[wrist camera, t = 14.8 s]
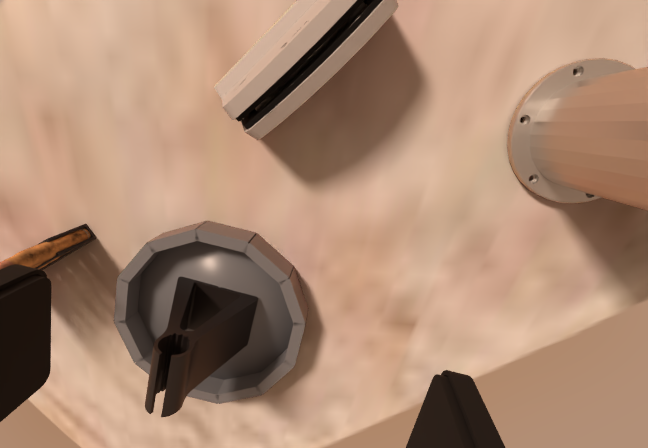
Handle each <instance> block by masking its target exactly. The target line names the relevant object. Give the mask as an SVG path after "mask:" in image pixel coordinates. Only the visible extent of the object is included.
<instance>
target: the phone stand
mask: <svg viewBox="0 0 648 448" xmlns="http://www.w3.org/2000/svg"><path fill="white" fill-rule="evenodd" d="M257 303H258V297H256V296H252V295H248V294H245V293H241V292H237V291H234V290H230V289H226V288H223V287H221V288H219V287H218V286H215V285H212V284H208V283H204V282H201V281H197V280H193V279H190V278H186V277H178V280H177V285H176V290H175V294H174V299H173V303H172V308H171V313H170V317H169V322H168V326H167V329H166V331H165V332H164V333H163V334H162V335H161V336H160V337H159V338H158V339H156V341H155V342H154V347H153V354H152V360H151V367H150V374H149V381H148V387H147V394H146V401H145V408H146V410H147V412H148V413H149V414H151V413H152V412H153V409H154V403H155V396H156V394H157V393H159V392H160V391H164V390H165V389H166V391H165V397H164V403H163V409H162V415H161V417H167V416H170V415H173V414H174V413H176V412H177V411H178V410H179V409H180V408H181V407H182V405H183V402H184V400H185V398H186V396H187V395H188V394H189V392H190V391H192V390H193V389H194V388H195V387H196V386H198V385H199V384H200V383H201V382H203V381H204V380H205V379H206V378H207V377H209V376H210V375H211V374H212V373H214V372H215V371H216V370H217V369H218V368H220V367H221V366H222V365H223V364H225V363H226V362H227V361H228V360H229V359H231V358H232V357H233V356H234V355H236V354H237V353H238V352H239V351H241V350H242V349H243V348H244V347H245V346H247V345H248V341H249V336H250V332H251V328H252V324H253V320H254V315H255V311H256V307H257ZM186 329H192V330H193V331H185V330H186Z"/></svg>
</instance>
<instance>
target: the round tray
mask: <svg viewBox="0 0 648 448" xmlns="http://www.w3.org/2000/svg"><path fill="white" fill-rule="evenodd" d="M178 277H186V278H190V279H193V280H197V281H201V282H204V283H208V284H212V285H215V286H218V287H219V288H221V287H223V288H226V289H230V290H234V291H237V292H241V293H245V294H248V295H252V296H256V297H258V303H257V307H256V311H255V315H254V320H253V324H252V328H251V332H250V336H249V341H248V345H247V346H245V347H244V348H243V349H242V350H241V351H239V352H238V353H237V354H236V355H234V356H233V357H232V358H231V359H229V360H228V361H227V362H226V363H225V364H223V365H222V366H221V367H220V368H218V369H217V370H216V371H215V372H214V373H212V374H211V375H210V376H209V377H207V378H206V379H205V380H204V381H203V382H201V383H200V384H199V385H198V386H196V387H195V388H194V389H193V390H192V391H190V392H189V394H188V395H187V396H188V397H192V398H196V399H200V400H204V401H208V402H212V403H216V404H218V403H219V404H221V403H225V402H230V401H235V400H240V399H245V398H250V397H255V396H260V395H262V394H264V393H265V392H266V391H268V390H269V389H270V388H271V387H272V386H273V385H274V384H275V383H277V382H278V381H279V380H280V379H281V378H282V377H283V376H285V375H286V374H287V373H288V372H289V371H290V370H291V369H292V368H294V366H295V363H296V359H297V355H298V351H299V348H300V344H301V340H302V336H303V332H304V328H305V324H306V319H307V315H308V306H307V303H306V300H305V297H304V294H303V291H302V289H301V286H300V283H299V280H298V277H297V274H296V271H295V268H294V267H293V265H292V264H291V263H290V262H289V261H287V260H286V259H285V258H284V257H283V256H282V255H281V254H280V253H279V252H277V251H276V250H275V249H274V248H273V247H272V246H271V245H270V244H268V243H267V242H266V241H265V240H264V239H263V238H262V237H261V236H260V235H258V234H256V233H255V232H251V231H247V230H243V229H239V228H235V227H231V226H227V225H223V224H219V223H215V222H211V221H204V222H201V223H197V224H194V225H190V226H187V227H183V228H180V229H176V230H172V231H169V232H165V233H162V234H161V235H159V236H157V237H155V238H154V239H152V240H150V241H149V242H147V243H146V244H145V245H144V246H143V247H142V249H141V250H140V251H139V252H138V253H137V255H136V256H135V257H134V258H133V259H132V261H131V262H130V263H129V264H128V265H127V266H126V268H125V269H124V270H123V271H122V272H121V274H120V275H119V276H118V278H117V287H116V300H115V313H114V321H115V322H114V323H115V325H116V327H117V329H118V331H119V333H120V335H121V337H122V339H123V341H124V343H125V345H126V347H127V349H128V351H129V353H130V355H131V357H132V359H133V361H134V363H135V362H136V363H135V364H136V365H137V366H139V367H140V368H141V369H142V370H144V371H145V372H146V373H148V374H150V367H151V360H152V354H153V347H154V342H155V341H156V339H158V338H159V337H160V336H161V335H162V334H163V333H164V332H165V331H166V329H167V326H168V322H169V317H170V313H171V308H172V303H173V299H174V294H175V290H176V285H177V280H178ZM185 331H193V330H192V329H186V330H185Z"/></svg>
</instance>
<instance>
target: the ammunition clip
mask: <svg viewBox="0 0 648 448" xmlns="http://www.w3.org/2000/svg"><path fill="white" fill-rule="evenodd" d="M94 239H96V237H95V235H94V234H93V233H92V231H91V230H90V229H89V227H88V226H87V225H86V224H84V225H81V226H79V227H76V228H74V229H71V230H69V231H66V232H64V233H61V234H58V235H56V236H53V237H51V238H48V239H46V240H44V241H43V242H41V243H39V244H38V245H36V246H33V247H31V248H28V249H26V250H23V251H21V252H19V253H17V254H15V255H14V256H12V257H10V258H8V259H6V260H4V261H2V262H0V269H3V268H5V267H7V266H10V265H14V264H19V265H23V266H27V267H31V268H36V269H40V270H43V269H45V268H46V267H48V266H50V265H51V264H53V263H55V262H57V261H58V260H60V259H62V258H63V257H65V256H67V255H68V254H70V253H72V252H74V251H75V250H77V249H79V248H80V247H82V246H84V245H86V244H87V243H89V242H91V241H92V240H94Z"/></svg>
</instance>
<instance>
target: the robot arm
mask: <svg viewBox="0 0 648 448" xmlns="http://www.w3.org/2000/svg"><path fill="white" fill-rule="evenodd" d="M573 70H574V75H573ZM521 117H522V118H523V121H522V122H520V119H521ZM507 149H508V155H509V161H510V163H511V166H512V169H513V171H514V173H515V174H516V176H517V177H518V179H519V180H520V182H521V183H522V184H523V185H524V186H525V187H527V188H528V189H529V190H530V191H532V192H533V193H535V194H537V195H538V196H541V197H543V198H546V199H548V200H552V201H556V202H560V203H572V204H576V203H584V202H590V201H593V200H596V199H600V198H606V199H609V200H612V201H616V202H619V203H623V204H626V205H630V206H633V207H637V208H640V209H644V210H647V211H648V67H645V68H640V69H635V68H634V67H632V66H631V65H628V64H626V63H623V62H620V61H618V60H612V59H605V58H598V59H586V60H582V61H578V62H574V63H571V64H568V65H565V66H562V67H560V68H558V69H556V70H554V71H553V72H551V73H549V74H547V75H546V76H545V77H543V78H542V79H541V80H540V81H538V82H537V83H536V84H535V85H534V86H533V87H532V88H531V89H530V90H529V91H528V92H527V93H526V95H525V96H524V97H523V99H522V100H521V102H520V103H519V105H518V107H517V108H516V110H515V113H514V115H513V117H512V120H511V123H510V127H509V132H508V142H507ZM530 176H531V179H530V180H529V177H530ZM50 358H51V281H50V280H49V279H48V278H47V275H46V273H45V272H44V271H42V270H40V269H36V268H31V267H27V266H23V265H19V264H14V265H10V266H7V267H5V268H3V269H0V422H1V421H2V420H3V419H4V418H6V417H7V416H8V415H9V414H10V413H11V412H12V411H14V410H15V409H16V408H17V407H18V406H20V405H21V404H22V403H23V402H24V401H25V400H26V399H28V398H29V397H30V396H31V395H33V394H34V393H35V392H36V391H37V390H38V389H40V388H41V387H42V386H43V385H44V383H45V382H46V380H47V379H48V377H49V374H50ZM406 448H505V446H504V444H503V442H502V440H501V438H500V435H499V433H498V431H497V429H496V427H495V425H494V423H493V421H492V419H491V417H490V414H489V413H488V410H487V408H486V406H485V404H484V402H483V400H482V398H481V396H480V394H479V391H478V389H477V387H476V385H475V383H474V381H473V379H472V378H471V377H470V376H468V375H464V374H460V373H456V372H452V371H448V370H445V371H443V373H442V374H441V375H435V376H434V377H433V379H432V382H431V384H430V387H429V389H428V392H427V395H426V397H425V400H424V402H423V405H422V407H421V410H420V413H419V415H418V418H417V421H416V423H415V425H414V428H413V431H412V433H411V436H410V438H409V441H408V444H407V446H406Z"/></svg>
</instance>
